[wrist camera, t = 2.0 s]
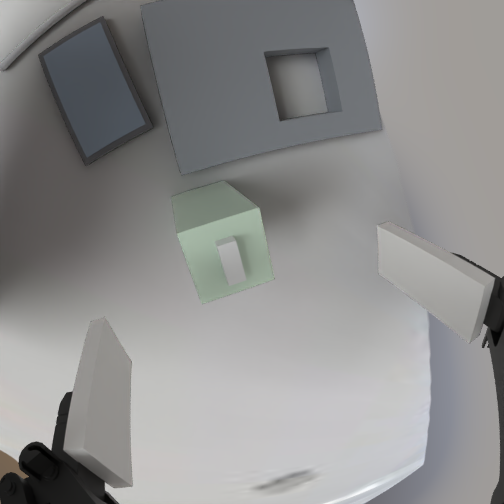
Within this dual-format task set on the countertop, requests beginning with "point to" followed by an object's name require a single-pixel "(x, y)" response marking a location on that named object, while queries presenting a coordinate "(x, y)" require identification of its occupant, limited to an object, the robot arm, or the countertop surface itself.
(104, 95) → the phone
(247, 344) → the countertop surface
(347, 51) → the plate
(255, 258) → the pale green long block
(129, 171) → the countertop surface
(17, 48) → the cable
